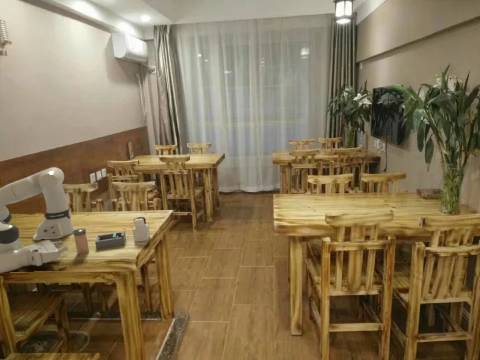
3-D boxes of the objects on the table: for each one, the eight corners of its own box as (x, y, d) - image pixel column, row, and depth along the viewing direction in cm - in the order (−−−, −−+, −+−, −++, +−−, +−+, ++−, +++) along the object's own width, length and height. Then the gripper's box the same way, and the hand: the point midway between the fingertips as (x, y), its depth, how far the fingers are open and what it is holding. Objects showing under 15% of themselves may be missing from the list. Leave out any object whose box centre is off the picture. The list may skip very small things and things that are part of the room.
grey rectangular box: (96, 249, 181) (94, 240, 180) (99, 242, 190) (97, 233, 189) (124, 244, 184) (123, 235, 183) (125, 238, 194) (124, 229, 192)
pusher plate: (113, 243, 184) (112, 236, 183) (115, 238, 191) (114, 232, 190) (118, 242, 185) (117, 236, 184) (119, 237, 191) (118, 231, 190)
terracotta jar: (76, 255, 174) (71, 233, 172) (78, 251, 180) (74, 229, 177) (88, 254, 176) (84, 231, 173) (90, 249, 181) (86, 227, 178)
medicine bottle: (137, 237, 194) (134, 216, 191) (150, 235, 195) (147, 215, 192) (134, 242, 187) (131, 220, 184) (147, 240, 188) (144, 219, 185)
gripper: (30, 254, 171) (60, 245, 180) (39, 267, 156) (71, 257, 164) (27, 242, 170) (58, 233, 178) (36, 254, 154) (69, 244, 163)
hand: (65, 245), depth 171 cm, fingers open, 8 cm apart
